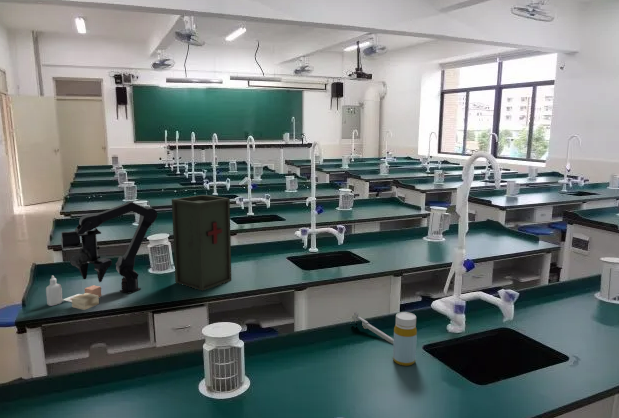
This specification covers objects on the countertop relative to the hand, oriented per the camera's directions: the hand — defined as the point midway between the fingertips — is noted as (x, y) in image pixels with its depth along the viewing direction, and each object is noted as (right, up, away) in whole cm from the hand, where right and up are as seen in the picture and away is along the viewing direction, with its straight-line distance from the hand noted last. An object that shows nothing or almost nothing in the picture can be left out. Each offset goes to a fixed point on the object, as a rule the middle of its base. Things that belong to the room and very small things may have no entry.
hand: (92, 280), depth 196 cm
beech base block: (+1, -9, -8) cm, 12 cm away
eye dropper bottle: (-12, -9, -6) cm, 16 cm away
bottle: (+123, -17, -52) cm, 134 cm away
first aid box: (+43, -4, +22) cm, 48 cm away
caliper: (+116, -15, -33) cm, 121 cm away
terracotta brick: (0, -8, +1) cm, 8 cm away
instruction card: (-7, -8, 0) cm, 10 cm away
